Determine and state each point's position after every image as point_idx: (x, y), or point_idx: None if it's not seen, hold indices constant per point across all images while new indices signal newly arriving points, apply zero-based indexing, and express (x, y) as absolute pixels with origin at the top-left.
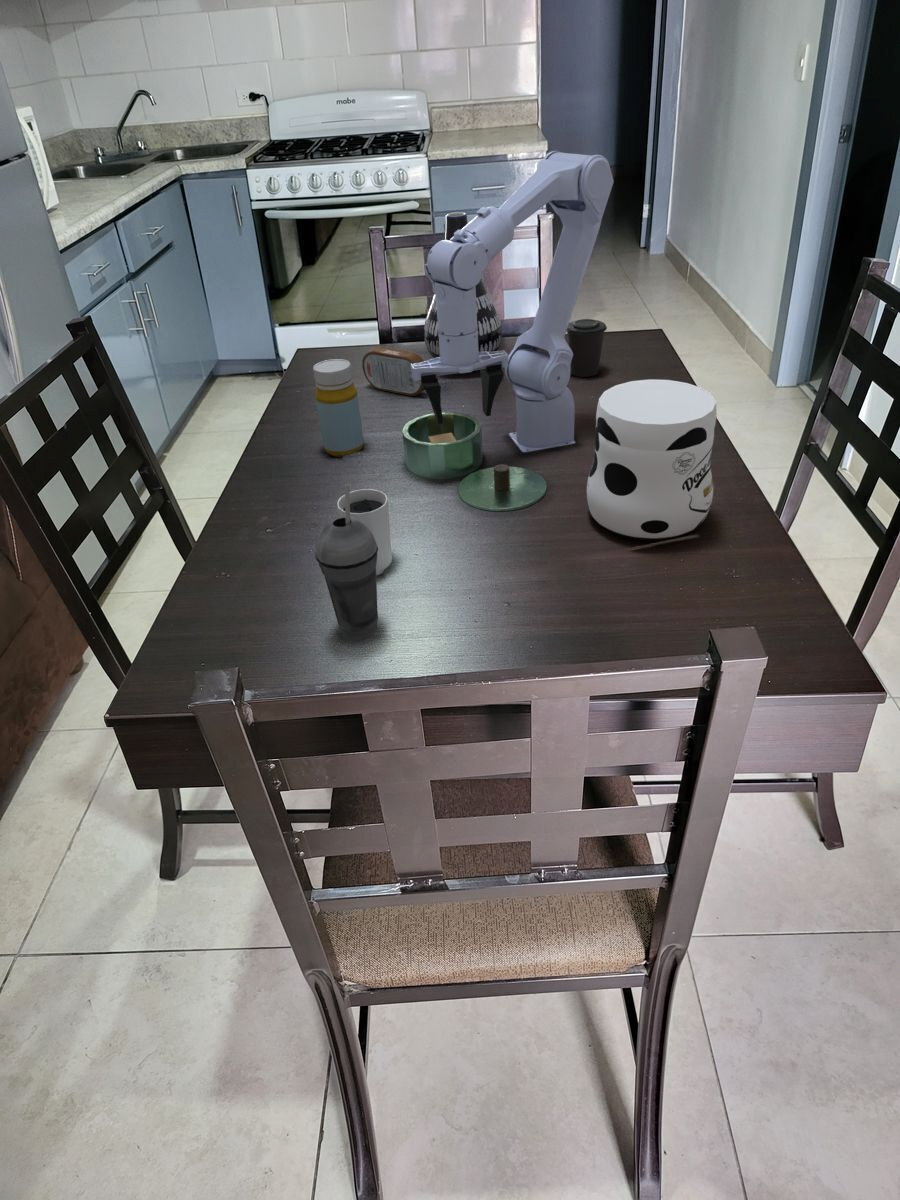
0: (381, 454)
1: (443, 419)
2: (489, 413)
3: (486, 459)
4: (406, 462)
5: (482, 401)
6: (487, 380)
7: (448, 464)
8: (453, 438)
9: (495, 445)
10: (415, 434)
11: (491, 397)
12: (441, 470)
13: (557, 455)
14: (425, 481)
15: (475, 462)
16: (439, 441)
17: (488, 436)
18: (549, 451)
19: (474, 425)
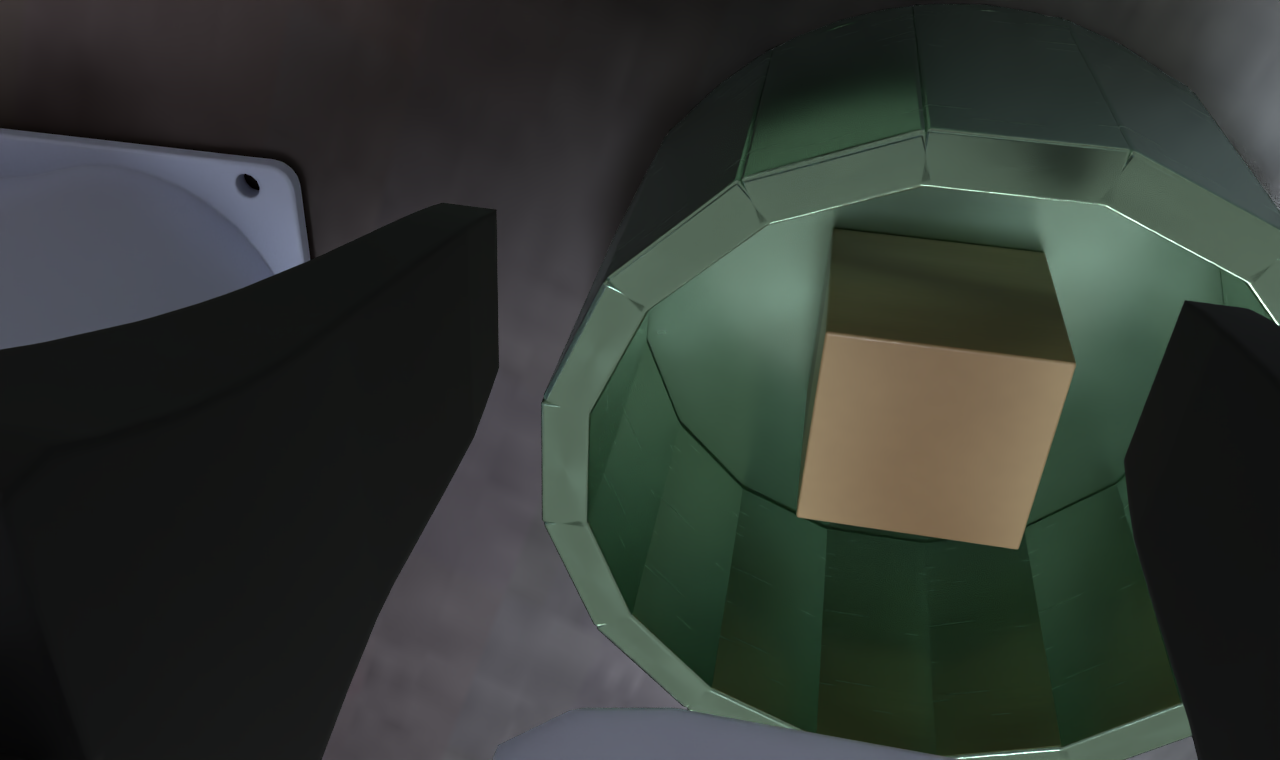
0: None
1: (795, 687)
2: (441, 207)
3: (585, 232)
4: None
5: (454, 467)
6: (176, 529)
7: (1053, 58)
8: (828, 414)
9: None
10: (1082, 637)
11: (294, 292)
12: (1115, 64)
13: (40, 34)
14: (1223, 110)
15: (733, 95)
16: (975, 422)
17: (468, 521)
18: (94, 127)
19: (595, 456)
